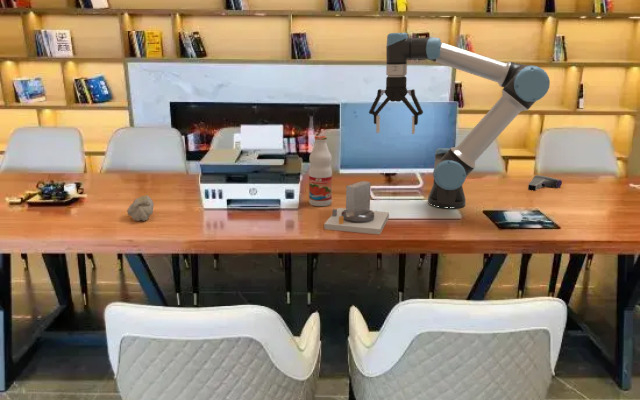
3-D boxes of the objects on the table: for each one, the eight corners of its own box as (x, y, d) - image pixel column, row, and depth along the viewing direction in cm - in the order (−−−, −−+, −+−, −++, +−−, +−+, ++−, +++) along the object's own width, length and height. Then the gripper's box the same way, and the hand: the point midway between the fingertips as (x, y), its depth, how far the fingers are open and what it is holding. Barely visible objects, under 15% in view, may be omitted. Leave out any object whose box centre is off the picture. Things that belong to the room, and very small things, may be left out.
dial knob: (354, 210, 206) (355, 178, 202) (380, 216, 198) (381, 183, 195) (334, 217, 197) (335, 184, 194) (361, 224, 190) (362, 190, 186)
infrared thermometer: (525, 192, 245) (534, 183, 257) (553, 196, 239) (561, 187, 250) (526, 182, 244) (535, 174, 255) (554, 186, 237) (562, 177, 248)
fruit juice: (334, 201, 225) (335, 134, 217) (328, 207, 217) (329, 138, 209) (312, 199, 228) (312, 133, 220) (306, 205, 219) (305, 137, 211)
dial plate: (388, 217, 205) (389, 206, 204) (379, 234, 187) (380, 222, 185) (338, 212, 210) (338, 201, 209) (324, 229, 192) (324, 217, 191)
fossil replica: (135, 225, 195) (161, 221, 202) (136, 204, 193) (161, 200, 200) (121, 215, 203) (145, 212, 210) (121, 194, 201) (146, 192, 208)
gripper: (361, 76, 201) (361, 133, 206) (429, 76, 193) (427, 135, 199) (366, 75, 207) (365, 130, 213) (431, 75, 200) (429, 132, 206)
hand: (395, 133), depth 206 cm, fingers open, 13 cm apart
